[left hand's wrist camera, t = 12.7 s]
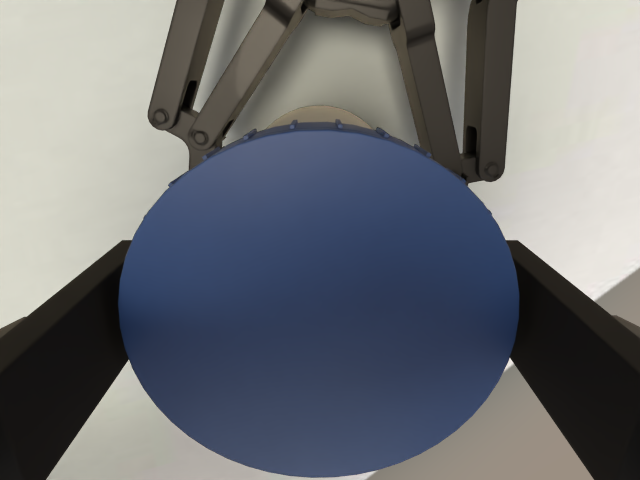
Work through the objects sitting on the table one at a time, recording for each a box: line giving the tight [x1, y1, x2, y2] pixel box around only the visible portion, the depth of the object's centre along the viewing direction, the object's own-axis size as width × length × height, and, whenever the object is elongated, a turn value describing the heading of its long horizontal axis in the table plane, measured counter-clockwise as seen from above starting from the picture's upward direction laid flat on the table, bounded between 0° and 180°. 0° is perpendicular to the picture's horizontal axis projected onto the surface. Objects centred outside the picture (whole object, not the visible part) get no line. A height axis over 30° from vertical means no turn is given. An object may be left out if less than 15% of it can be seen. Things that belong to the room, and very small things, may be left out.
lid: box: [118, 119, 519, 478], centre depth 11 cm, size 10×10×2 cm
